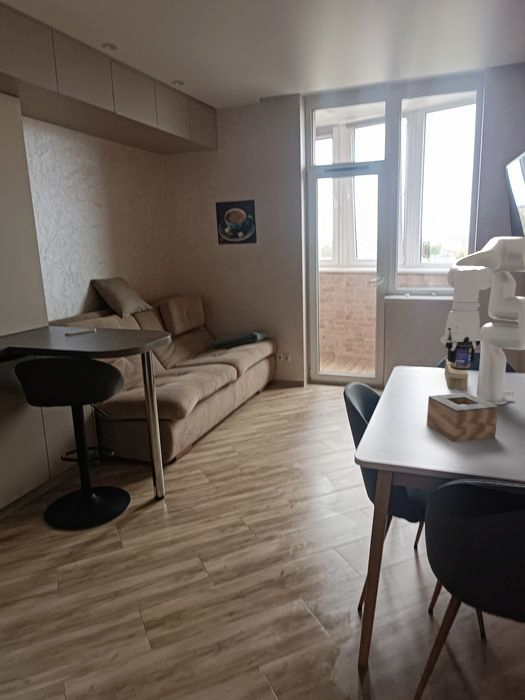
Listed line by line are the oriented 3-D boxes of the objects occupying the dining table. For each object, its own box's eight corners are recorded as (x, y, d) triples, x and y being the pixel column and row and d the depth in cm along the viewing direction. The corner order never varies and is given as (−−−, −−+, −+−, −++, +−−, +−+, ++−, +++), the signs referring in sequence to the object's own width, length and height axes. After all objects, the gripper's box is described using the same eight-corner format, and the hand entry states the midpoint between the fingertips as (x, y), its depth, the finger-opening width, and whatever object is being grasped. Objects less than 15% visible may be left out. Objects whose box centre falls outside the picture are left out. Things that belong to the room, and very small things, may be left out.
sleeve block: (464, 420, 173) (467, 392, 171) (495, 437, 159) (498, 406, 157) (426, 425, 170) (428, 396, 167) (454, 442, 155) (456, 410, 153)
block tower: (444, 375, 238) (447, 389, 211) (445, 358, 237) (448, 371, 209) (461, 376, 236) (467, 391, 209) (462, 359, 234) (468, 372, 207)
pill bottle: (471, 371, 157) (474, 337, 155) (451, 370, 158) (454, 337, 156) (467, 366, 163) (470, 334, 161) (448, 365, 164) (451, 333, 162)
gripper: (480, 304, 162) (475, 356, 166) (434, 306, 158) (430, 360, 162) (496, 307, 155) (490, 362, 159) (448, 309, 151) (443, 365, 155)
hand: (460, 360), depth 160 cm, fingers closed on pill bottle, 6 cm apart
